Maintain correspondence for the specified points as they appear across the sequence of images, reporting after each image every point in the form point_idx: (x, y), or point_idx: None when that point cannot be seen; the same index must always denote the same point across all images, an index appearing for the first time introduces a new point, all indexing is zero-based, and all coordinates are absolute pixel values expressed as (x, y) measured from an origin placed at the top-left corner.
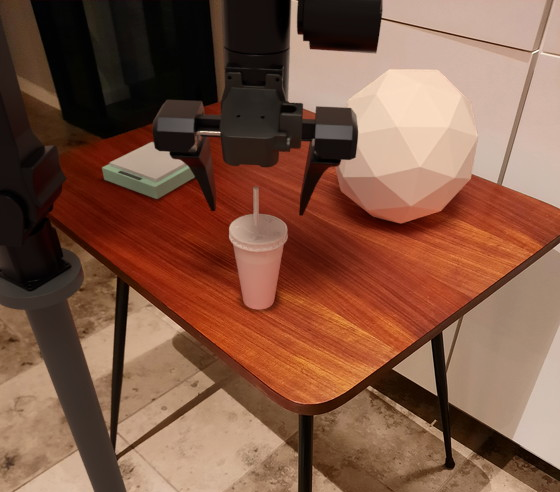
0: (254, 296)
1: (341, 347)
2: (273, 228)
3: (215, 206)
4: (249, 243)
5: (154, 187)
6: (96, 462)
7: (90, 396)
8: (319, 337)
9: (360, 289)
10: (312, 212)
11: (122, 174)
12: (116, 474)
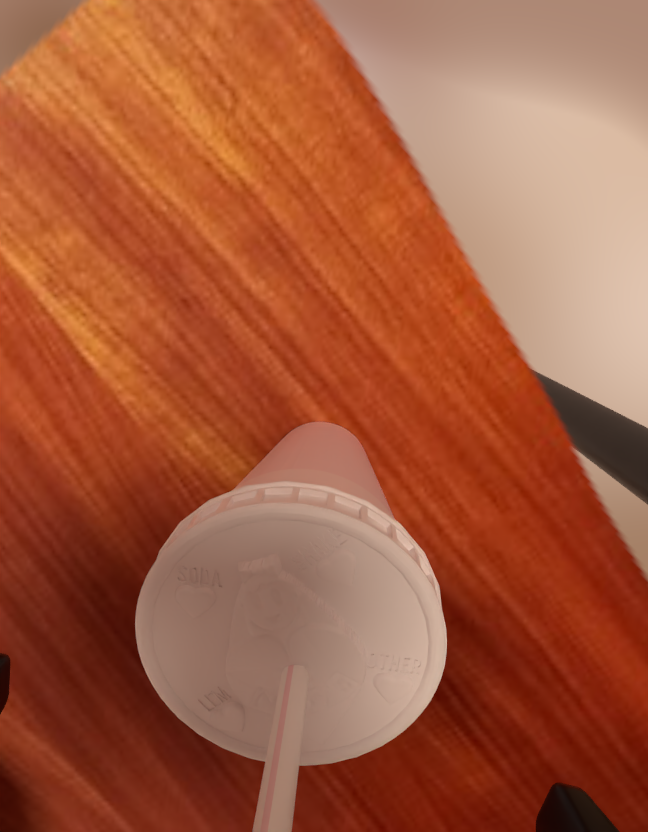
0: (338, 435)
1: (95, 203)
2: (208, 634)
3: (553, 823)
4: (357, 519)
5: None
6: (584, 399)
7: (638, 456)
8: (158, 262)
9: (10, 468)
10: (113, 818)
11: None
12: None
